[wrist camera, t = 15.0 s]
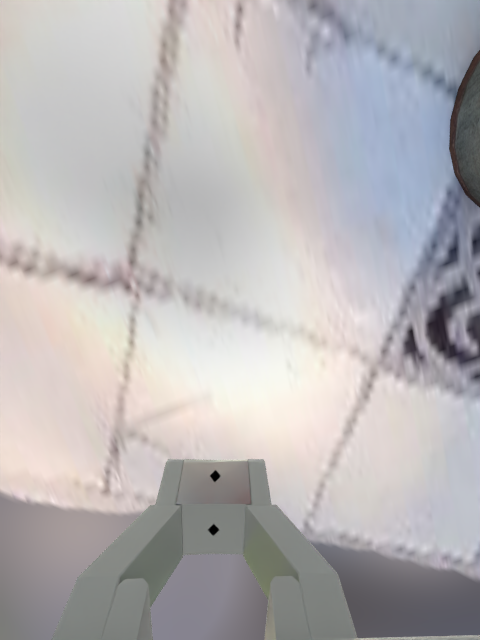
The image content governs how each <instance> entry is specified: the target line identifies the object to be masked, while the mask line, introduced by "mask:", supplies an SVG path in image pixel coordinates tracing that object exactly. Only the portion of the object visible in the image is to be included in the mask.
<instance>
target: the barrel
mask: <svg viewBox="0 0 480 640" xmlns="http://www.w3.org/2000/svg"><path fill="white" fill-rule="evenodd" d="M449 149H450V154H451V159H452V163H453V168H454V173H455V175H456V177H457V179H458V181H459V183H460V185H461V186H462V188H463V190H464V192H465V194H466V195H467V196H468V197H469V198H470V199H471V200H472V201H473V202H474V203H475V204H476V205H478V206H479V207H480V50H479V51H478V53H477V54H476V55H475V57H474V58H473V60H472V62H471V64H470V66H469V68H468V70H467V72H466V74H465V77H464V79H463V81H462V83H461V85H460V87H459V89H458V93H457V97H456V100H455V104H454V108H453V112H452V116H451V120H450V147H449Z"/></svg>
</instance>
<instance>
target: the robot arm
mask: <svg viewBox="0 0 480 640" xmlns="http://www.w3.org/2000/svg"><path fill="white" fill-rule="evenodd" d="M196 554H243V556H244V558H245V560H246V562H247V564H248V565H249V567H250V569H251V571H252V572H253V574H254V576H255V578H256V580H257V581H258V583H259V585H260V587H261V588H262V590H263V592H264V594H265V596H266V597H267V599H268V611H267V621H266V630H265V639H264V640H480V635H469V636H468V635H467V636H432V637H431V636H429V637H392V638H357V635H356V631H355V629H354V625H353V622H352V618H351V615H350V612H349V609H348V606H347V602H346V600H345V596H344V592H343V589H342V586H341V583H340V580H339V576H338V574H337V573H336V571H335V570H334V569H333V568H332V567H331V566H330V565H329V564H328V562H327V561H326V560H325V559H324V558H323V557H322V556H321V555H320V553H319V552H318V551H317V550H316V549H315V548H314V547H313V546H312V544H311V543H310V542H309V541H308V540H307V539H306V538H305V536H304V535H303V534H302V533H301V532H300V531H299V530H298V529H297V527H296V526H295V525H294V524H293V523H292V522H291V521H290V520H289V518H288V517H287V516H286V515H285V514H284V513H283V512H282V511H281V509H280V508H279V507H278V506H277V505H271V499H270V492H269V486H268V479H267V473H266V466H265V461H264V460H263V459H248V460H196V459H185V460H181V459H168V460H167V462H166V465H165V469H164V473H163V477H162V481H161V485H160V489H159V493H158V496H157V500H156V504H155V505H150V506H149V507H148V508H147V509H146V510H145V511H144V512H143V513H142V514H141V515H140V516H139V517H138V518H137V519H136V520H135V521H134V522H133V523H132V524H131V525H130V526H129V527H128V528H127V529H126V530H125V531H124V532H123V533H122V534H121V535H120V536H119V537H118V538H117V539H116V540H115V541H114V542H113V543H112V544H111V545H110V546H109V547H108V548H107V549H106V550H105V551H104V552H103V553H102V554H101V555H100V556H99V557H98V558H97V559H96V560H95V561H94V562H93V563H92V564H91V565H90V566H89V567H88V568H87V569H86V570H85V571H84V572H83V573H82V574H81V575H80V576H79V577H78V578H77V581H76V584H75V585H74V588H73V590H72V593H71V595H70V597H69V600H68V602H67V605H66V607H65V609H64V612H63V614H62V616H61V619H60V621H59V624H58V626H57V628H56V631H55V633H54V635H53V638H52V640H153V637H152V625H151V612H150V607H151V606H152V604H153V603H154V601H155V600H156V598H157V596H158V595H159V593H160V592H161V590H162V589H163V587H164V586H165V584H166V582H167V581H168V579H169V578H170V576H171V575H172V573H173V572H174V570H175V569H176V567H177V565H178V564H179V562H180V561H181V559H182V558H183V555H196Z"/></svg>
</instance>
